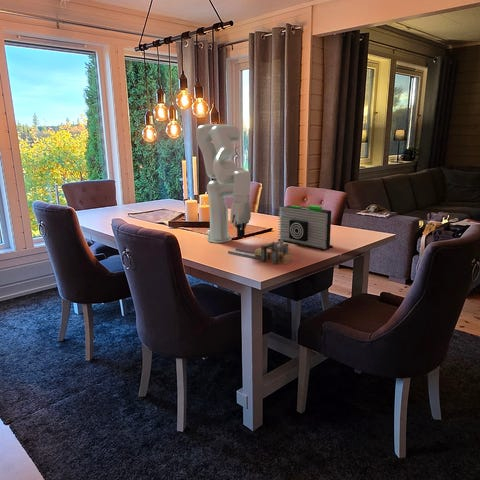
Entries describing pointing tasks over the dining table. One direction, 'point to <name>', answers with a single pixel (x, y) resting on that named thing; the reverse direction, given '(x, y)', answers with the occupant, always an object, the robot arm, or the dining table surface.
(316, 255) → the dining table surface
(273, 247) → the collar rig
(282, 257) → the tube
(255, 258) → the guide
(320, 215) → the electronic device
